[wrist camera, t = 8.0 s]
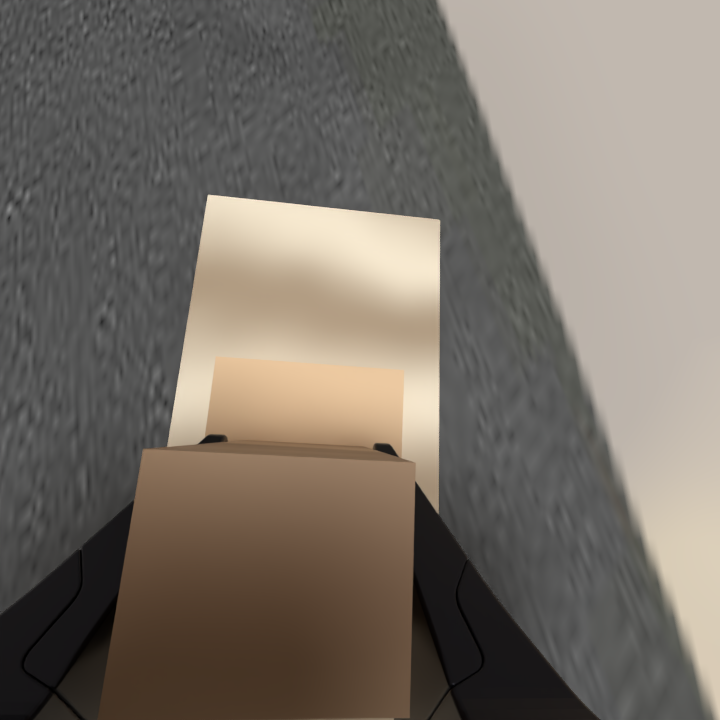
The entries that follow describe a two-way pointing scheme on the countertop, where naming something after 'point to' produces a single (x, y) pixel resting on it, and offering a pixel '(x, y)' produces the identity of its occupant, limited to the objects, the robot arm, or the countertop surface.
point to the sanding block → (272, 556)
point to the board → (317, 308)
